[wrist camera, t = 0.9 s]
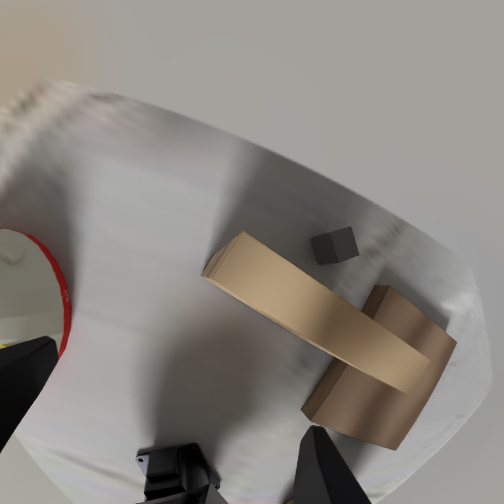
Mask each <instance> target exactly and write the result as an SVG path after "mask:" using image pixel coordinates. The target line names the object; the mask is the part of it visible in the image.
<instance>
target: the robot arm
mask: <svg viewBox="0 0 504 504" xmlns="http://www.w3.org/2000/svg"><path fill="white" fill-rule="evenodd" d="M58 359H59V355H58V350H57V344H56V341H55V340H54V339H53V338H51V337H49V336H42V337H38V338H35V339H32V340H28V341H25V342H21V343H18V344H15V345H11V346H8V347H4V348H1V349H0V453H1V451H2V450H3V448H4V446H5V445H6V443H7V442H8V440H9V438H10V437H11V435H12V434H13V432H14V431H15V429H16V428H17V426H18V425H19V423H20V422H21V420H22V419H23V417H24V416H25V414H26V413H27V411H28V410H29V408H30V407H31V405H32V404H33V402H34V401H35V400H36V398H37V397H38V395H39V394H40V392H41V391H42V389H43V387H44V385H45V384H46V382H47V380H48V378H49V376H50V375H51V373H52V371H53V369H54V368H55V366H56V364H57V362H58ZM192 447H196V449H193V448H192ZM139 458H141V459H143V460H140V459H139ZM136 462H137V463H138V465H139V467H140V468H141V470H142V471H143V473H144V474H145V476H146V482H145V488H144V494H145V501H144V502H141V503H136V504H228V503H227V502H226V500H225V499H224V498H223V497H222V496H221V495H220V493H219V492H218V491H217V490H218V489H219V488H220V483H219V482H218V480H217V478H216V476H215V474H214V473H213V471H212V469H211V467H210V465H209V463H208V462H207V460H206V458H205V456H204V454H203V452H202V450H201V448H200V446H199V445H198V444H197V443H190V444H186V445H182V446H178V447H174V446H173V447H169V448H164V449H159V450H154V451H151V452H149V453H144V454H138V455H137V456H136ZM214 485H217V486H214ZM294 504H372V503H371V502H370V500H369V499H368V497H367V495H366V494H365V492H364V491H363V489H362V488H361V486H360V485H359V483H358V481H357V480H356V478H355V477H354V475H353V473H352V472H351V470H350V469H349V467H348V466H347V464H346V462H345V461H344V459H343V457H342V456H341V454H340V453H339V451H338V449H337V448H336V446H335V445H334V443H333V441H332V440H331V438H330V436H329V435H328V433H327V432H326V430H325V428H324V427H322V426H315V425H312V426H310V427H309V429H308V430H307V432H306V433H305V435H304V436H303V438H302V440H301V443H300V449H299V455H298V462H297V469H296V475H295V482H294Z"/></svg>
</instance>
